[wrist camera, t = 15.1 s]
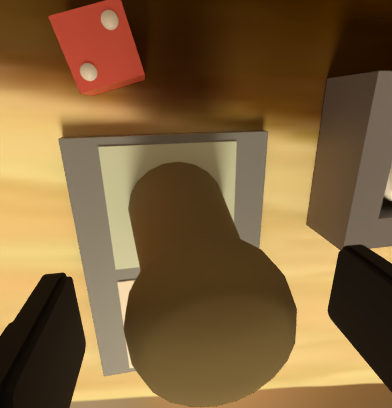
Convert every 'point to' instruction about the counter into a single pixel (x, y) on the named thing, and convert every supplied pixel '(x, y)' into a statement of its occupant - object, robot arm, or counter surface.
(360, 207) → the gray square holder
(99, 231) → the game board
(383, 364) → the robot arm
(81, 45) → the red die
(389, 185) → the cream white ball
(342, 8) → the counter surface
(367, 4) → the counter surface
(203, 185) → the brown pepper mill
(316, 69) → the counter surface
